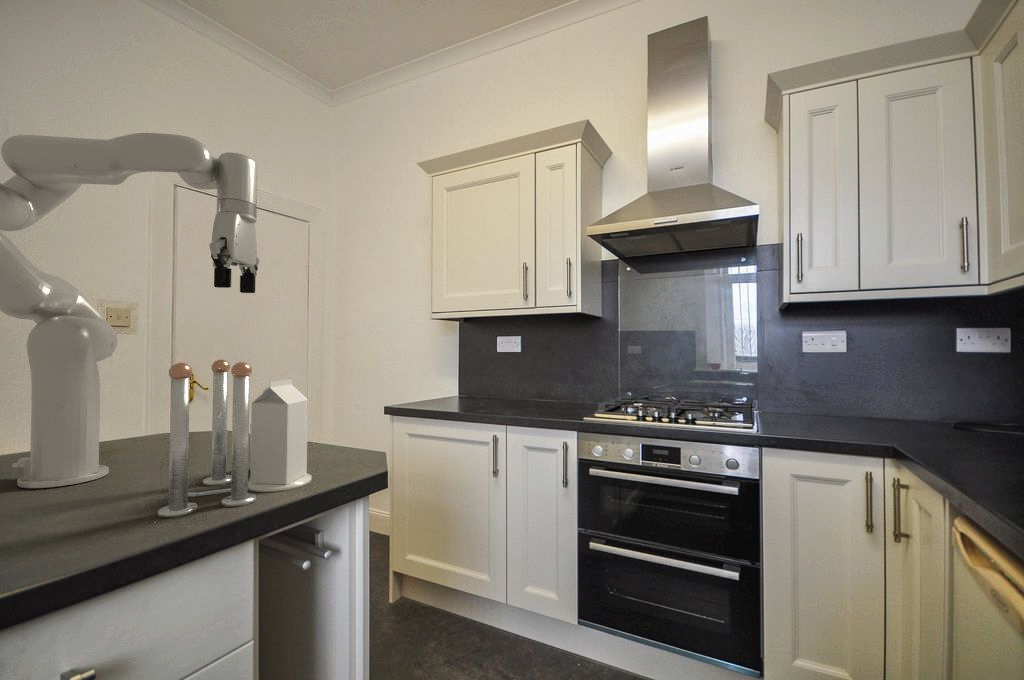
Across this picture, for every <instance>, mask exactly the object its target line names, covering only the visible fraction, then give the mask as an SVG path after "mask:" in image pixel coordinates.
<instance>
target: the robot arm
mask: <svg viewBox="0 0 1024 680" xmlns="http://www.w3.org/2000/svg"><path fill="white" fill-rule="evenodd" d="M0 154H1V157H2V159H3V162H4V163H5V165H6V166H7V168H9V169H10V170H11V171H12V172H13V174H14V176H12V177H11V178H9V179H8V180H6V181H5V182H4V183H1V182H0V312H1V313H3V314H5V315H6V316H9V317H10V318H14V319H15V318H16V319H21V320H31V321H33V322H35V324H36V325H35V326H34V327H32V329H31V330H30V332H29V334H28V336H27V341H26V350H27V351H26V352H27V359H28V363H29V367H30V378H31V379H30V381H31V385H30V386H31V392H30V394H31V395H30V396H31V397H30V401H31V407H30V408H31V411H30V413H31V415H30V420H31V421H30V454H29V456H30V457H21V458H19V459H18V460H17V462H14V463H12V465H11V469H12V471H14V470H15V471H19V470H20V471H21V470H23V476H21V477H18V479H17V482H16V483H17V486H18V487H19V488H23V489H45V488H56V487H64V486H65V487H66V486H71V485H77V484H82V483H87V482H90V481H91V482H92V481H94V480H97V479H100V478H103V477H105V476H107V475H108V474H109V473H110V471H109V470H110V469H109V468H110V467H109V466H107V465H104V464H100V463H99V462H100V424H101V423H100V422H101V421H100V419H101V418H100V417H101V415H100V413H101V411H100V410H101V380H100V377H101V376H100V372H99V367H98V362H101V361H103V360H105V359H107V358H109V357H110V356H112V354H113V353H114V352H115V351H116V348H117V346H118V337H117V333H116V331H115V330H114V328H113V327H112V325H111V324H110V322H108V320H106V318H104V316H103V315H102V314H101V313H100V312H99V311H98V310H97V309H96V308H95V307H94V306H93V304H92V303H91V302H90V301H89V300H88V299H87V298H86V297H85V296H84V295H83V293H82V292H81V291H80V290H79V289H78V288H76V287H75V286H74V285H73V284H72V283H70V282H68V281H67V280H65V279H63V278H61V277H58V276H56V275H51V274H48V273H46V272H44V271H42V270H40V269H39V268H38V267H36V266H35V264H34V263H32V262H31V261H30V260H29V258H27V257H26V256H25V254H24V253H22V251H21V250H20V249H19V248H18V246H17V245H16V244H15V243H14V242H12V241H11V239H10V238H8V237H7V236H6V235H5V234H4V233H3V232H18V231H20V230H23V229H27V228H29V227H31V226H33V225H34V224H36V223H37V222H39V220H41V219H42V218H44V217H45V216H47V215H48V214H49V213H51V212H52V211H53V210H54V209H56V208H58V206H60V205H61V204H63V203H64V202H65V201H66V200H68V199H69V198H70V197H72V196H73V195H74V194H75V193H77V191H78V190H79V188H81V186H82V184H83V185H105V186H106V185H110V186H119V185H121V184H123V183H124V182H125V181H126V180H127V179H128V178H129V177H130V176H132V175H135V174H139V173H149V172H150V173H153V172H154V173H155V172H159V173H176V174H178V175H179V177H180V179H182V180H183V182H184V183H186V184H187V185H188V186H190V187H192V188H194V189H198V190H217V191H216V214H215V217H214V220H213V226H212V233H211V242H210V243H209V244H208V246H209V249H210V258H211V259H212V268H214V269H213V270H214V271H213V273H214V274H213V286H214V288H216V289H218V288H220V289H221V288H222V289H226V288H227V289H228V288H229V289H230V288H231V287H232V268H230V266H234V267H237V266H238V268H239V270H240V272H241V275H239V292H240V293H242V294H255V293H256V276H257V273H258V270H259V268H258V266H259V263H260V259H259V258H258V256H257V253H258V251H257V250H258V249H257V233H256V232H257V231H256V225H255V224H256V223H257V210H258V209H257V207H258V206H257V203H258V199H257V197H258V164H257V161H255V160H254V159H253V158H252V157H250V156H248V155H247V154H242V153H238V152H229V151H228V152H224V153H221V154H220V155H219V156H218V157H215V156H213V155H212V154H211V152H210V150H209V149H208V147H207V146H206V145H205V144H203V142H201V141H199V140H197V139H196V138H193V137H190V136H187V135H181V134H174V133H173V134H170V133H160V132H159V133H157V132H136V133H135V132H134V133H130V134H125V135H121V136H116V137H113V138H109V139H100V138H99V139H98V138H83V137H68V136H53V135H35V134H18V135H13V136H11V137H8V138H7V139H5V140H4V141H3V142H2V144H1V147H0ZM1 231H2V232H1Z"/></svg>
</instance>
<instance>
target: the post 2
mask: <svg viewBox="0 0 1024 680" xmlns="http://www.w3.org/2000/svg"><path fill="white" fill-rule="evenodd" d="M230 368H231V365H230V363H229V362H228V361H227V360H225V359H216V360H215V361H214V362H213V363H212V365H211V371H212V373H213V374H212V377H213V378H212V379H213V380H212V420H211V421H212V424H211V425H212V426H211V427H212V428H211V429H212V430H211V431H212V432H211V476H209V477H206V478H204V479H203V480H202V485H204V486H207V487H208V486H209V487H210V486H212V487H213V486H215V487H216V486H222V485H226V484H227V485H228V484H231V474H227V459H228V458H227V454H228V453H227V451H228V450H227V448H228V445H227V443H228V442H227V441H228V402H229V401H228V399H229V397H228V396H229V395H228V392H229V389H228V386H229V372H230Z"/></svg>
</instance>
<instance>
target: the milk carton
mask: <svg viewBox="0 0 1024 680" xmlns="http://www.w3.org/2000/svg"><path fill="white" fill-rule="evenodd" d="M308 401H309V400H308V398H307V397H306V396H305V395H304V394H303V393H302V392H301V391H300V390H298V389H297V388H296V387H295V386H294V385H293V379H292V378H290V379H289V378H288V379H283V380H281V379H280V380H273V381H269V384H268V387H266V388H265V389H264V390H263V392H262V393H261V394H260V395H259V396H258V397H257V398H256V399H255V400H253V401H252V402H251V409H250V410H251V416H250V417H251V418H250V419H251V421H250V422H251V423H250V424H251V438H250V473H249V474H250V479H249V481H250V483H259V484H288V483H290V482H292V481H294V480H296V479H298V478H300V477H302V476H304V475H306V474H307V472H308V471H307V469H308V468H307V467H308V415H309V413H308V412H309V408H308V406H309V402H308Z"/></svg>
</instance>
